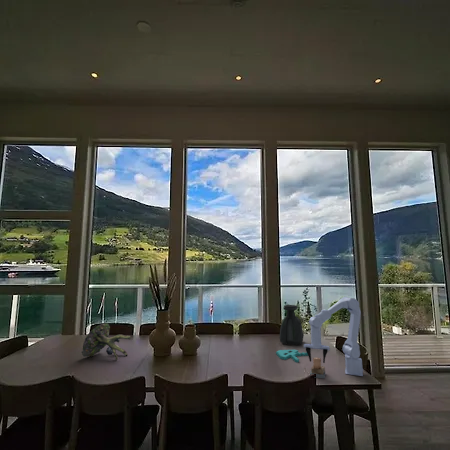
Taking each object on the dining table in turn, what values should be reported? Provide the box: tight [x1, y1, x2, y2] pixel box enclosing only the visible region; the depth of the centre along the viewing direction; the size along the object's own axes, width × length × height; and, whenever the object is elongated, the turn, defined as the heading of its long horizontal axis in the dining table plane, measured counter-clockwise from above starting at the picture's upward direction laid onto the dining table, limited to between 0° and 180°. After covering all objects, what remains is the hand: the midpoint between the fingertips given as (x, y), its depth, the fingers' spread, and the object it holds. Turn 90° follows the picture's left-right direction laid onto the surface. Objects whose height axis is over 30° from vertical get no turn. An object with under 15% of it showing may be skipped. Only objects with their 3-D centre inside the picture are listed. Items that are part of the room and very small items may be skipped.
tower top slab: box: [310, 365, 326, 375], centre depth 171 cm, size 6×6×2 cm
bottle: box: [278, 304, 304, 346], centre depth 244 cm, size 18×16×30 cm
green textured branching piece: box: [81, 322, 132, 361], centre depth 209 cm, size 23×26×35 cm
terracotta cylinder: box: [312, 357, 322, 369], centre depth 172 cm, size 4×4×5 cm
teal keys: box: [275, 349, 309, 363], centre depth 207 cm, size 20×2×20 cm
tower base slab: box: [309, 371, 326, 379], centre depth 171 cm, size 8×8×2 cm
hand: (317, 361), depth 172 cm, fingers open, 7 cm apart
